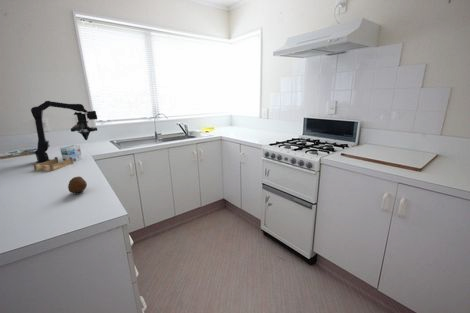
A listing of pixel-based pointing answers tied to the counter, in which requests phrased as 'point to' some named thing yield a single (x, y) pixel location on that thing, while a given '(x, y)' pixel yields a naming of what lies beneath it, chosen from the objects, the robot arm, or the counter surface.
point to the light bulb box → (71, 152)
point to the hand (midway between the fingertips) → (86, 140)
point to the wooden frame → (52, 165)
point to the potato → (77, 185)
